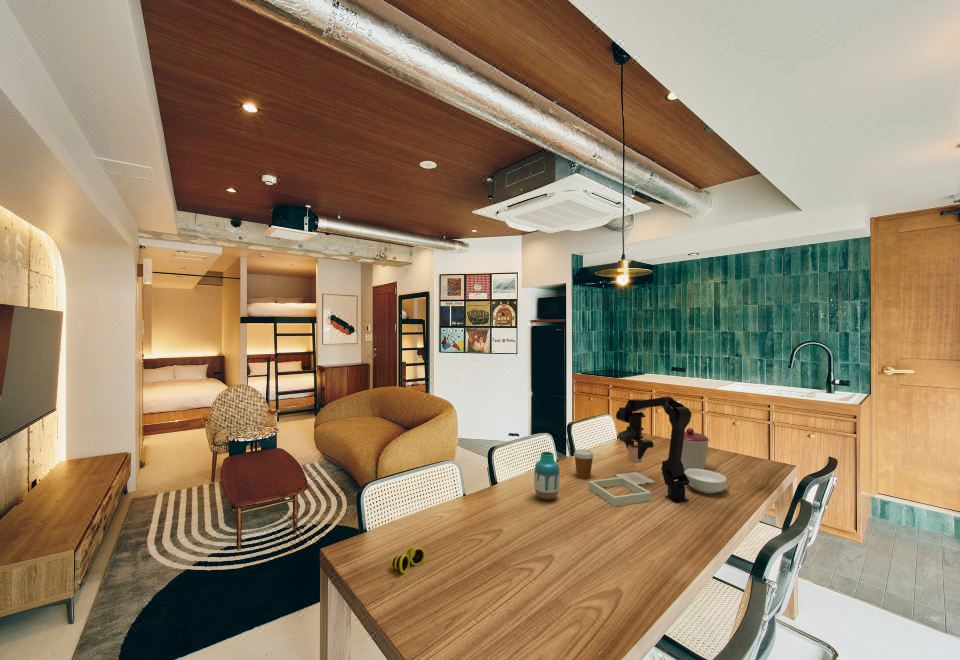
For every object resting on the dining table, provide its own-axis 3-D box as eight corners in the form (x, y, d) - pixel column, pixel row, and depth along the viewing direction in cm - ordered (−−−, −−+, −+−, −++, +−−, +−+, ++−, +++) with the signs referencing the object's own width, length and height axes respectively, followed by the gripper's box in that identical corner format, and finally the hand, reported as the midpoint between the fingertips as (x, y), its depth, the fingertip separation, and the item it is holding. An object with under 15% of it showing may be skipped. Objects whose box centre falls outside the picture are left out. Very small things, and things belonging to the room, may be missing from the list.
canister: (673, 472, 202) (674, 431, 202) (667, 461, 219) (668, 423, 219) (713, 476, 197) (714, 434, 197) (704, 464, 214) (705, 425, 214)
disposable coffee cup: (589, 481, 189) (589, 456, 188) (570, 477, 194) (570, 452, 194) (596, 476, 196) (596, 451, 196) (578, 471, 202) (578, 447, 202)
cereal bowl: (723, 501, 169) (724, 485, 169) (680, 491, 179) (680, 475, 179) (728, 489, 182) (728, 473, 182) (687, 480, 192) (688, 465, 192)
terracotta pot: (644, 462, 190) (645, 447, 190) (633, 463, 188) (633, 448, 188) (635, 457, 196) (635, 443, 196) (624, 459, 194) (625, 444, 194)
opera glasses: (415, 558, 126) (413, 542, 127) (426, 562, 123) (424, 545, 123) (390, 573, 119) (388, 555, 119) (401, 577, 115) (399, 558, 116)
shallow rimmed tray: (650, 500, 168) (651, 492, 168) (614, 506, 163) (614, 497, 163) (622, 484, 186) (622, 476, 186) (588, 488, 180) (588, 481, 180)
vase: (530, 500, 168) (531, 454, 168) (538, 491, 177) (539, 448, 177) (554, 505, 163) (555, 458, 163) (562, 496, 172) (562, 451, 172)
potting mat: (655, 482, 188) (655, 481, 188) (632, 485, 184) (632, 484, 184) (636, 473, 201) (636, 472, 201) (614, 475, 197) (614, 474, 197)
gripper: (609, 421, 199) (608, 453, 199) (634, 431, 181) (634, 465, 181) (627, 420, 202) (627, 451, 202) (654, 429, 184) (654, 463, 185)
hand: (634, 457), depth 192 cm, fingers closed on terracotta pot, 6 cm apart
